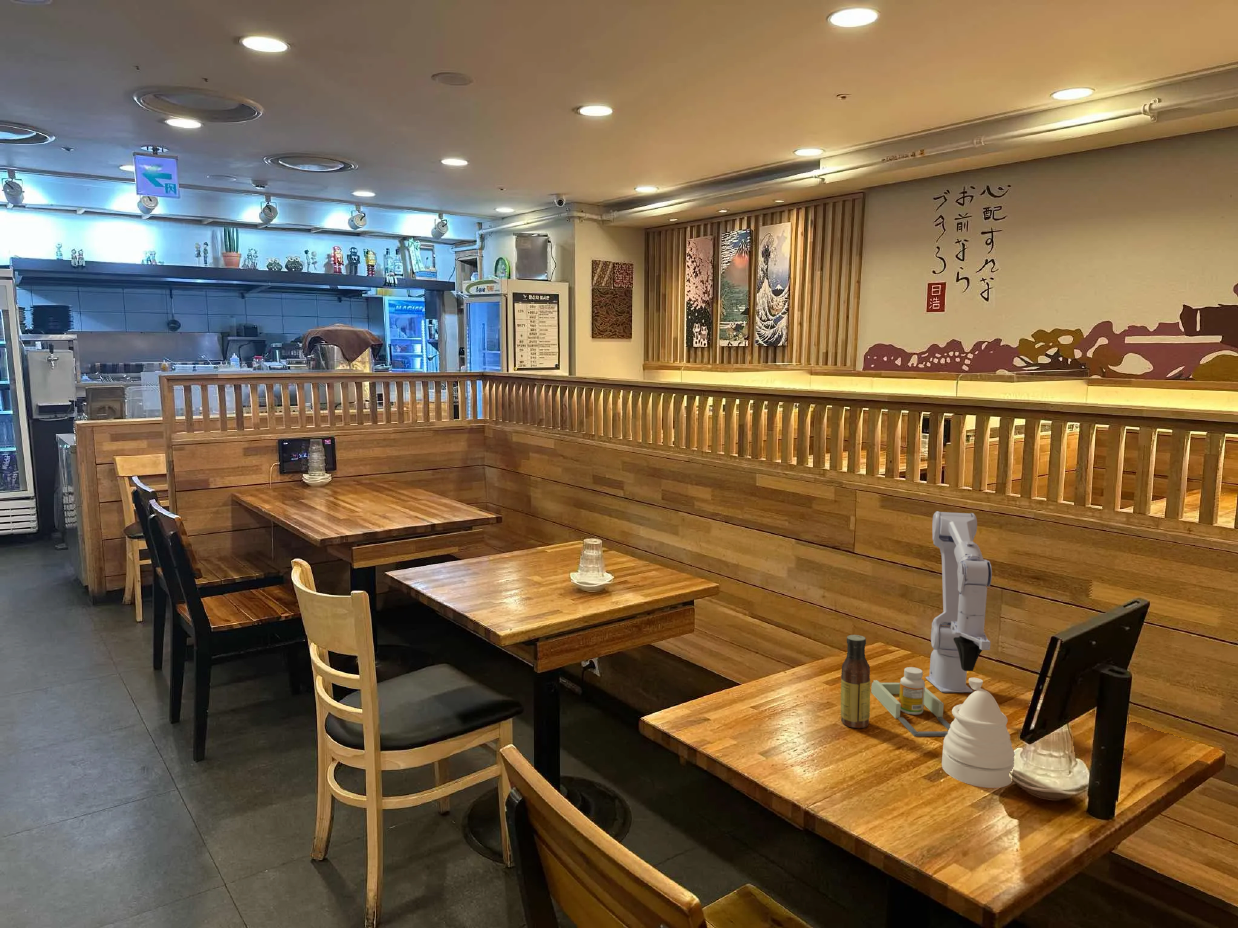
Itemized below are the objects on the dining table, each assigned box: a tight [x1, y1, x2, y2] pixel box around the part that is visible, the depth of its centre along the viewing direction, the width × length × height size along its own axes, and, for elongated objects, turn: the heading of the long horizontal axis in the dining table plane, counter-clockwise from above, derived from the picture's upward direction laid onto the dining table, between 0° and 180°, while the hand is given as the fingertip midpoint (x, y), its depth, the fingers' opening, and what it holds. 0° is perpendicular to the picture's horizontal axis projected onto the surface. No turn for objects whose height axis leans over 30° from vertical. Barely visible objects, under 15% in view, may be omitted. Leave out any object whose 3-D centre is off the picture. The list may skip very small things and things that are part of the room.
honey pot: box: [941, 677, 1016, 789], centre depth 160 cm, size 13×13×18 cm
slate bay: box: [897, 716, 951, 737], centre depth 180 cm, size 8×10×1 cm
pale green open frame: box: [870, 679, 944, 720], centre depth 192 cm, size 15×11×4 cm
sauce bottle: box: [840, 634, 871, 729], centre depth 180 cm, size 7×6×20 cm
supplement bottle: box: [898, 666, 926, 716], centre depth 189 cm, size 5×5×10 cm
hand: (967, 669), depth 187 cm, fingers closed
